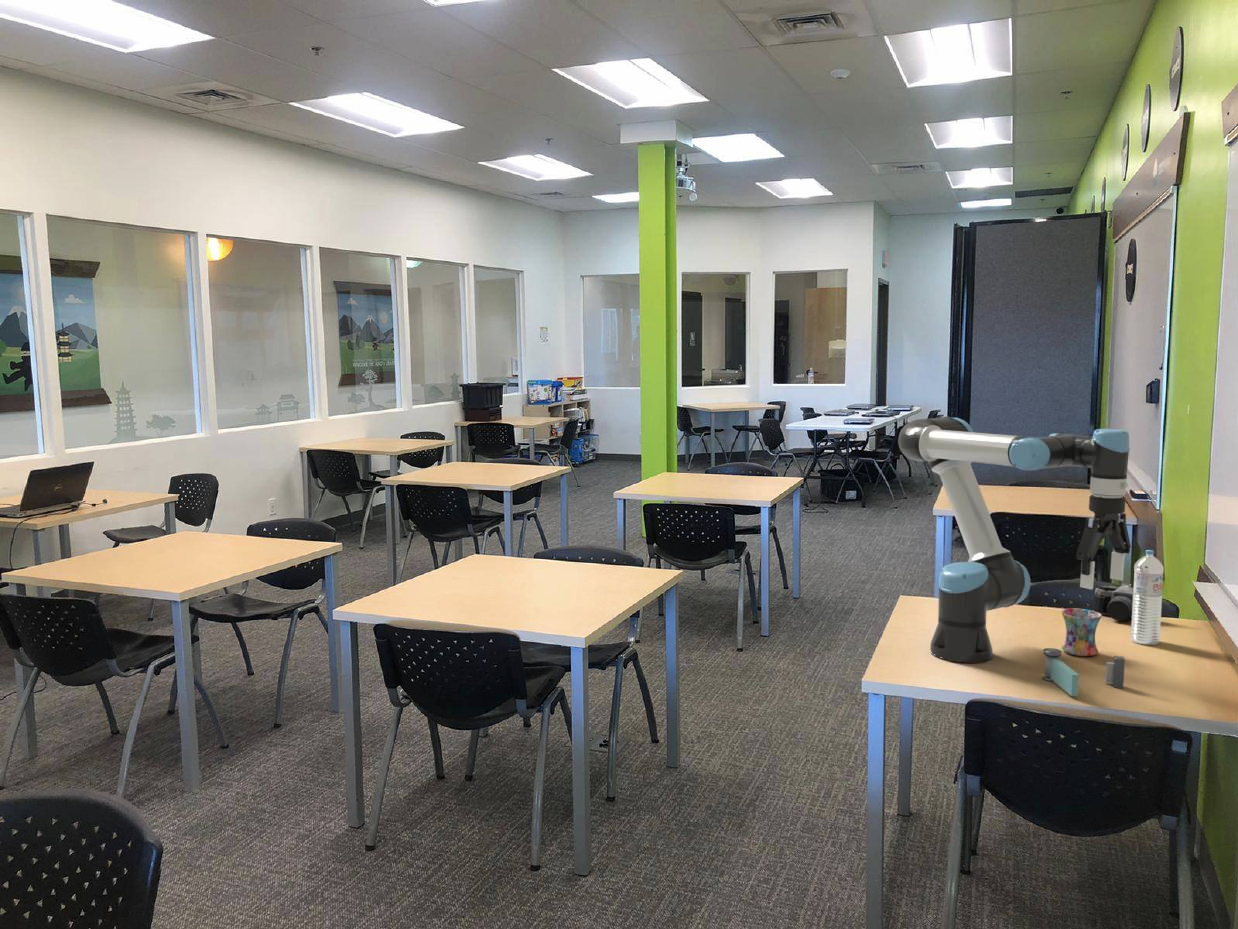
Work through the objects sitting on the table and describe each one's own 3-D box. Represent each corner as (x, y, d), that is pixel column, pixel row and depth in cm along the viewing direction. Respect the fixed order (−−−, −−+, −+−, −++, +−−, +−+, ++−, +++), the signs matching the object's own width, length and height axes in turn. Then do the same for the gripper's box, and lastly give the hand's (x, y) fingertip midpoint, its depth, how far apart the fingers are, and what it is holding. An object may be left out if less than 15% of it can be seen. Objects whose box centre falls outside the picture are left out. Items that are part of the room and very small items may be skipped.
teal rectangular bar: (1042, 674, 224) (1043, 654, 223) (1055, 674, 224) (1056, 654, 223) (1067, 696, 210) (1068, 674, 209) (1081, 696, 210) (1082, 674, 209)
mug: (1090, 661, 235) (1092, 620, 234) (1053, 652, 242) (1055, 613, 241) (1110, 651, 242) (1112, 611, 241) (1074, 643, 250) (1076, 604, 248)
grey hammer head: (1042, 680, 221) (1043, 652, 221) (1042, 675, 225) (1043, 647, 224) (1061, 682, 220) (1062, 654, 219) (1060, 677, 224) (1061, 649, 223)
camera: (1086, 618, 272) (1088, 585, 271) (1096, 611, 280) (1097, 578, 279) (1147, 628, 262) (1149, 593, 261) (1155, 620, 270) (1157, 586, 268)
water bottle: (1149, 637, 253) (1154, 547, 250) (1165, 645, 246) (1170, 553, 243) (1125, 638, 253) (1129, 548, 250) (1139, 646, 246) (1144, 553, 243)
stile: (1106, 686, 217) (1108, 657, 216) (1105, 682, 220) (1107, 653, 219) (1123, 688, 216) (1124, 659, 215) (1121, 684, 218) (1123, 655, 218)
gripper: (1095, 503, 208) (1089, 595, 210) (1150, 492, 222) (1144, 578, 225) (1063, 498, 214) (1057, 588, 216) (1118, 488, 228) (1112, 572, 231)
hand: (1101, 583), depth 220 cm, fingers open, 13 cm apart
